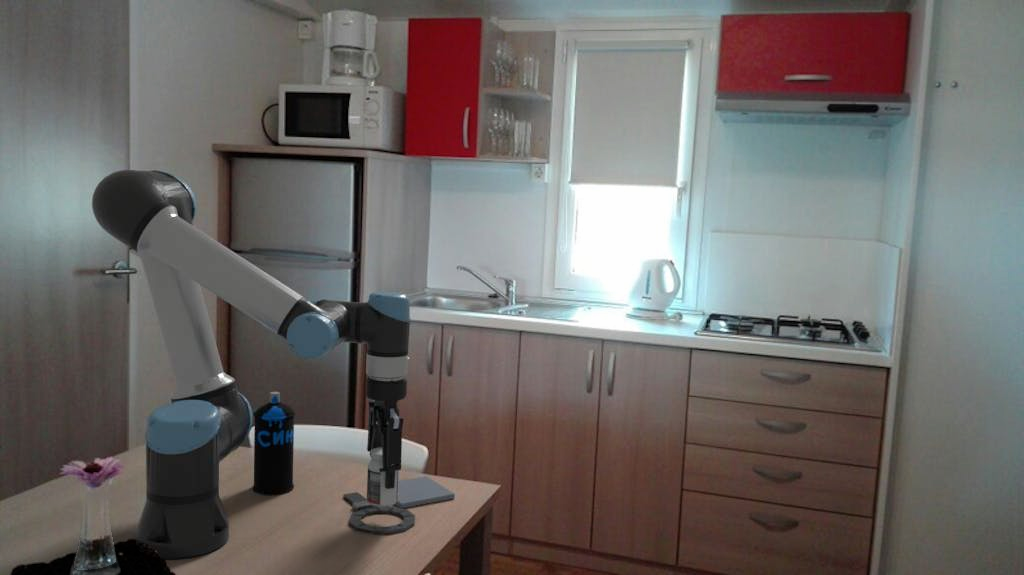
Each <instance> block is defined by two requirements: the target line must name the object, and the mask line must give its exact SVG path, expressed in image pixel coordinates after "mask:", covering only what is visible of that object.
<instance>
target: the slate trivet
mask: <svg viewBox="0 0 1024 575" xmlns="http://www.w3.org/2000/svg"><path fill="white" fill-rule="evenodd" d="M455 497H456V494H455V493H454V492H453V491H451V490H449V489H448V488H446V487H445V486H443V485H441V484H440V483H438V482H437V481H435V480H433V479H432V478H430V477H428V476H427V475H425V476H420V477H413V478H408V479H402V480H401V479H400V480H398V498H397V502H396V503H395V504H394V505H396V506H397V505H398V506H399V507H398V506H397V507H398V508H403V509H407V507H408V508H413V507H417V506H416V505H418V506H421V505H420V504H423V505H427V504H426V503H429V504H434V503H439V502H444V501H448V500H454V498H455ZM438 501H439V502H438ZM433 502H434V503H433ZM412 506H413V507H412Z"/></svg>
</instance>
